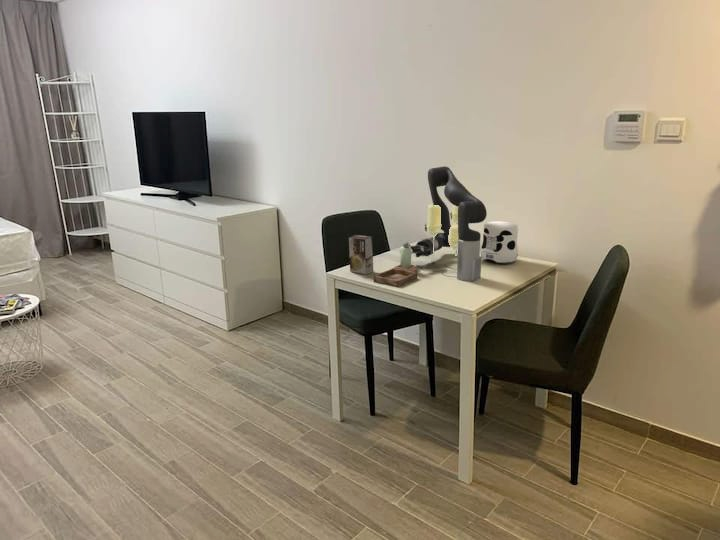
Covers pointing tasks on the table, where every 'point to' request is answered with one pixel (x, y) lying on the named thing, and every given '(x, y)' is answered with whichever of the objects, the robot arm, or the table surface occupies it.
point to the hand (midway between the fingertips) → (408, 253)
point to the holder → (413, 268)
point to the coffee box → (361, 254)
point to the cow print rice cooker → (499, 242)
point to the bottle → (405, 256)
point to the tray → (395, 277)
